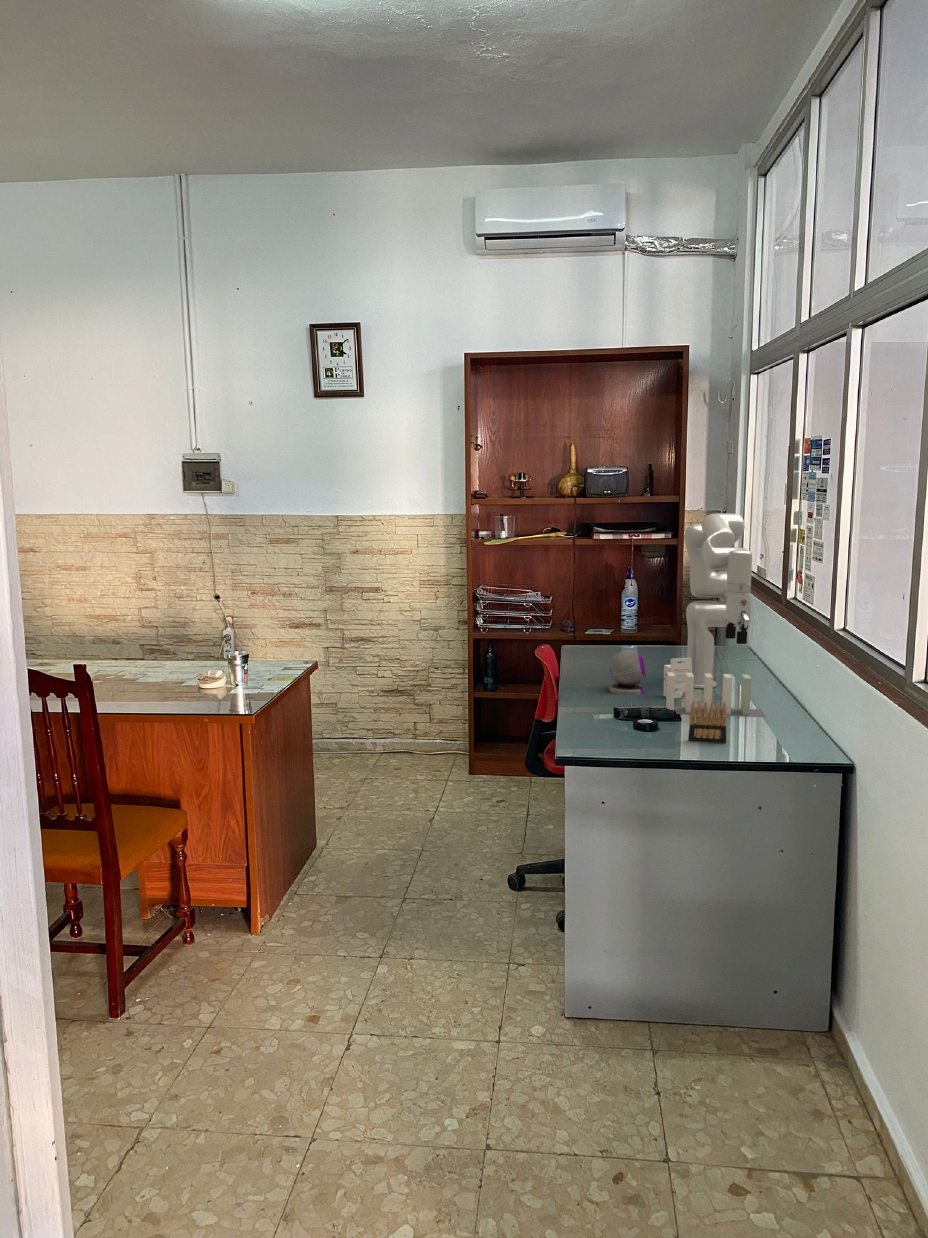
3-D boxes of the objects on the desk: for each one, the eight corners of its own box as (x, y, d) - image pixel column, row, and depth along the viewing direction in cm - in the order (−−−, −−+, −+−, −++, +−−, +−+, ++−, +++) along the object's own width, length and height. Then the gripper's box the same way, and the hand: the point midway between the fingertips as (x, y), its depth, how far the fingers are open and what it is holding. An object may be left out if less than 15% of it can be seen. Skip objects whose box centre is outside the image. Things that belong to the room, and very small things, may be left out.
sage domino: (746, 710, 300) (748, 674, 298) (749, 714, 294) (751, 678, 292) (740, 710, 300) (741, 674, 298) (743, 714, 294) (744, 678, 292)
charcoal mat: (650, 707, 306) (650, 705, 306) (761, 711, 301) (761, 709, 301) (652, 714, 296) (652, 712, 296) (766, 718, 291) (766, 717, 291)
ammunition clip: (725, 741, 266) (727, 701, 264) (726, 743, 264) (728, 703, 262) (688, 739, 268) (689, 700, 266) (688, 741, 266) (690, 701, 264)
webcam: (644, 696, 322) (646, 654, 320) (608, 694, 324) (609, 653, 322) (645, 688, 335) (646, 648, 332) (609, 686, 337) (611, 646, 335)
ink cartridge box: (684, 695, 323) (685, 655, 321) (691, 698, 318) (693, 657, 316) (662, 697, 321) (663, 656, 318) (669, 700, 316) (670, 658, 314)
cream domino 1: (667, 711, 297) (668, 676, 296) (666, 707, 303) (667, 672, 301) (673, 712, 297) (675, 676, 295) (672, 707, 303) (673, 672, 301)
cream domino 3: (705, 713, 296) (706, 677, 294) (703, 708, 302) (704, 673, 300) (711, 713, 295) (713, 677, 294) (709, 709, 301) (710, 673, 300)
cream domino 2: (686, 712, 297) (687, 676, 295) (684, 708, 302) (685, 672, 301) (692, 712, 296) (694, 676, 294) (690, 708, 302) (692, 673, 300)
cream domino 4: (724, 714, 295) (725, 677, 293) (721, 709, 301) (723, 673, 299) (730, 714, 295) (732, 678, 293) (727, 709, 300) (729, 674, 299)
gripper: (760, 591, 283) (757, 645, 286) (739, 585, 300) (737, 636, 303) (737, 591, 282) (734, 646, 285) (717, 585, 300) (715, 636, 302)
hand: (735, 641), depth 294 cm, fingers open, 9 cm apart
